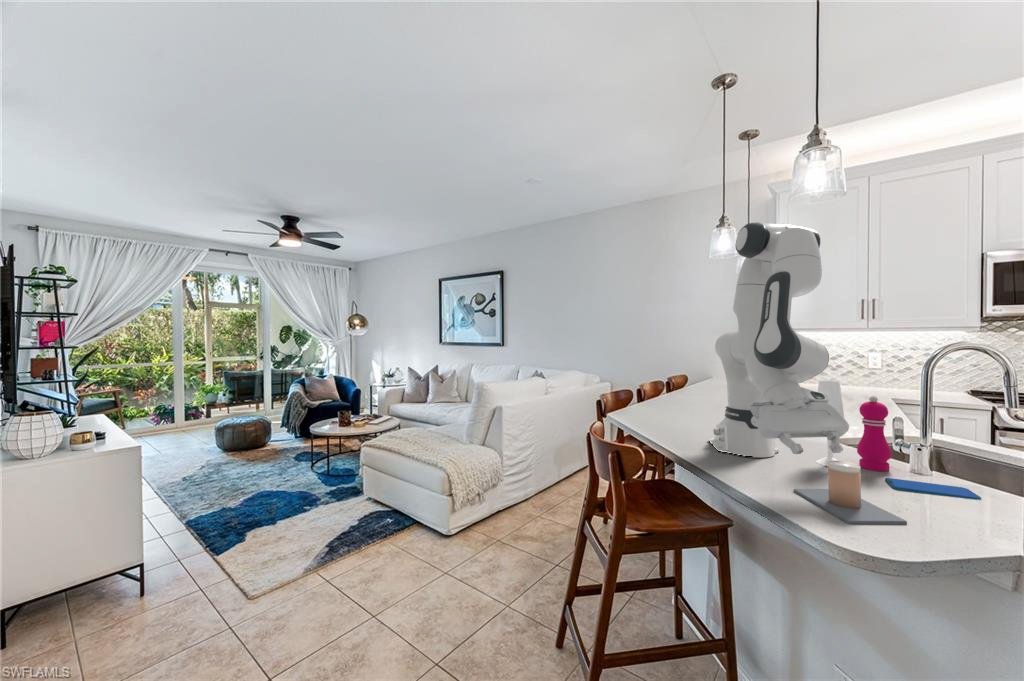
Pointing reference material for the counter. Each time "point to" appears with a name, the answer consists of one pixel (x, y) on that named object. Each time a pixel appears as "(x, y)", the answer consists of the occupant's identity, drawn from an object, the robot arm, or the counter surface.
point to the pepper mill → (874, 437)
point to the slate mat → (850, 509)
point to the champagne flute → (835, 398)
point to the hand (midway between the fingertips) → (818, 452)
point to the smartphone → (931, 488)
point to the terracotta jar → (844, 484)
